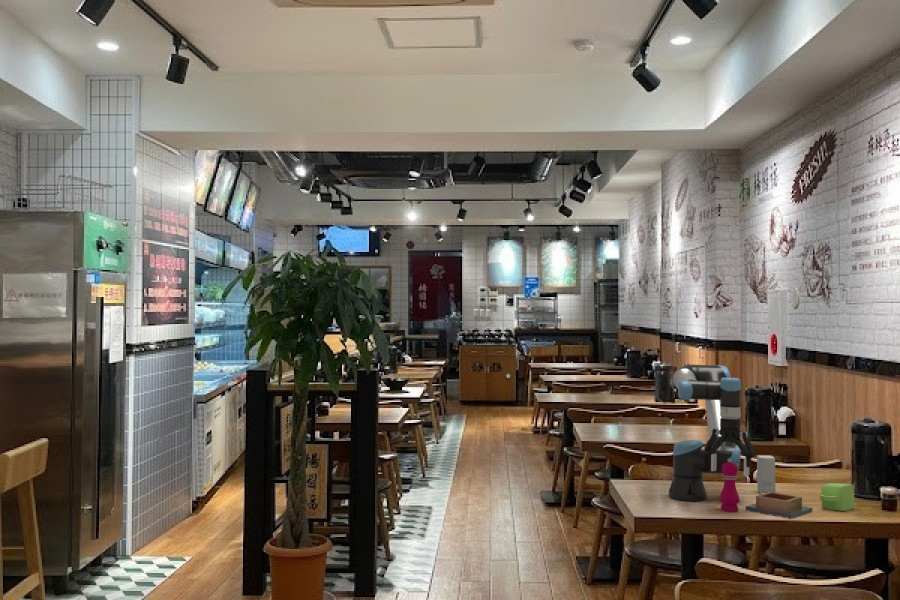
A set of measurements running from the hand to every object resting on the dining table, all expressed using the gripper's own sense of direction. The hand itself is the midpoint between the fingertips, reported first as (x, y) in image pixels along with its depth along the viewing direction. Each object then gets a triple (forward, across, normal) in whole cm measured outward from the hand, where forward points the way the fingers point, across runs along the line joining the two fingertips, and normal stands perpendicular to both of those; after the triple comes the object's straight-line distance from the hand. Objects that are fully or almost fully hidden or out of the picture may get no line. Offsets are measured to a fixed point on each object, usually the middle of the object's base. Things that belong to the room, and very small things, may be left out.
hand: (729, 473), depth 325 cm
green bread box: (+14, +25, +38) cm, 48 cm away
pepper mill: (+14, 0, 0) cm, 15 cm away
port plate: (+14, +13, +14) cm, 24 cm away
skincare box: (+14, -7, +44) cm, 47 cm away
